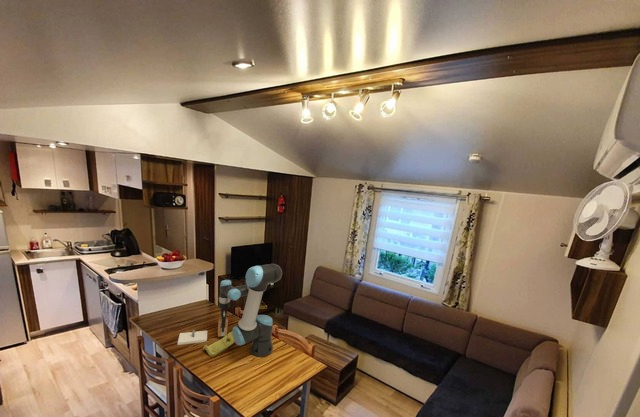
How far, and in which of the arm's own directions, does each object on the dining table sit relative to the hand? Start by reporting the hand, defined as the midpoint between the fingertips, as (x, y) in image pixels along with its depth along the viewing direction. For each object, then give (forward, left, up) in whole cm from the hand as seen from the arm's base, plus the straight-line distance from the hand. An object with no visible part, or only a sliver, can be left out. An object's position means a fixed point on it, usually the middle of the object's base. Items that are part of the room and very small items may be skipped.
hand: (222, 332), depth 188 cm
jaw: (0, 0, -1) cm, 1 cm away
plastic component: (-15, +1, -3) cm, 15 cm away
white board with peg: (+1, +19, -3) cm, 19 cm away
